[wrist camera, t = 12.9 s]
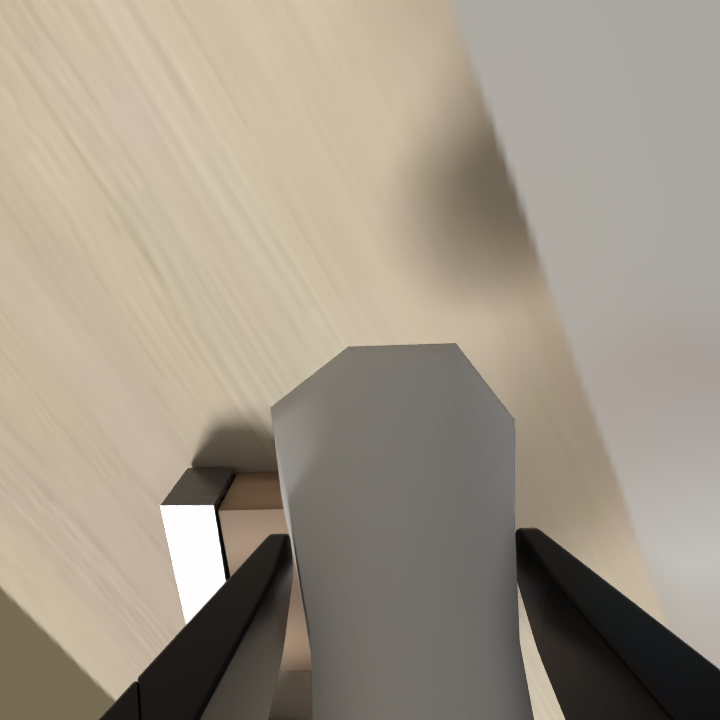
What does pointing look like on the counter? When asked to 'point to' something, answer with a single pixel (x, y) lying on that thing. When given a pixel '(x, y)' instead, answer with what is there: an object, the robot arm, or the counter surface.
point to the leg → (197, 535)
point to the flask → (404, 536)
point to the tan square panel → (247, 531)
